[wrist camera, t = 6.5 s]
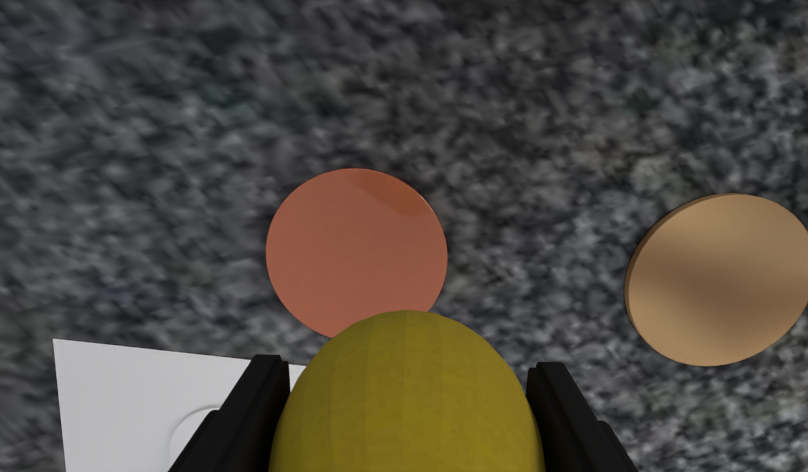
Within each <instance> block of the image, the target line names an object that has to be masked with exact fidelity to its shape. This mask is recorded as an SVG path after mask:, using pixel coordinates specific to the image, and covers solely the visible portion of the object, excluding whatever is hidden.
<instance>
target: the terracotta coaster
mask: <svg viewBox="0 0 808 472" xmlns="http://www.w3.org/2000/svg"><path fill="white" fill-rule="evenodd" d="M266 263H267V270H268V273H269V277H270V280H271V283H272V285H273V288H274V290H275V292H276V294H277V295H278V297H279V299H280V300H281V302H282V303H283V304H284V306H285V307H286V308H287V310H288V311H289V312H290V313H291V314H292V315H293V316H294V317H295V318H297V319H298V320H299V321H300V322H302V323H303V324H304V325H306V326H307V327H309V328H310V329H312V330H314V331H316V332H318V333H320V334H322V335H325V336H328V337H331V338H333V337H335V336H336V335H337V334H339V333H340V332H342V331H343V330H345V329H346V328H348V327H349V326H350V325H352V324H353V323H356V322H358V321H361V320H364V319H366V318H369V317H372V316H374V315H377V314H380V313H384V312H392V311H400V310H415V311H424V312H428V311H429V309H430V308H431V307H432V305H433V304H434V302H435V301H436V299H437V297H438V296H439V294H440V291H441V289H442V286H443V284H444V280H445V276H446V271H447V263H448V257H447V245H446V239H445V235H444V232H443V229H442V226H441V224H440V221H439V219H438V217H437V215H436V213H435V212H434V210H433V209H432V207H431V206H430V204H429V203H428V202H427V201H426V200H425V198H424V197H423V196H422V195H421V194H420V193H419V192H418V191H416V190H415V189H414V188H413V187H412V186H410V185H409V184H407V183H406V182H404V181H403V180H401V179H399V178H397V177H395V176H393V175H391V174H388V173H385V172H382V171H378V170H374V169H370V168H359V167H352V168H341V169H335V170H331V171H328V172H325V173H321V174H319V175H317V176H315V177H313V178H311V179H309V180H307V181H306V182H304V183H303V184H301V185H300V186H298V187H297V188H296V189H295V190H294V191H293V192H292V193H290V194H289V195H288V197H287V198H286V199H285V200H284V201H283V203H282V204H281V205H280V207H279V208H278V210H277V212H276V213H275V215H274V218H273V220H272V222H271V225H270V228H269V231H268V235H267V242H266Z"/></svg>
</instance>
